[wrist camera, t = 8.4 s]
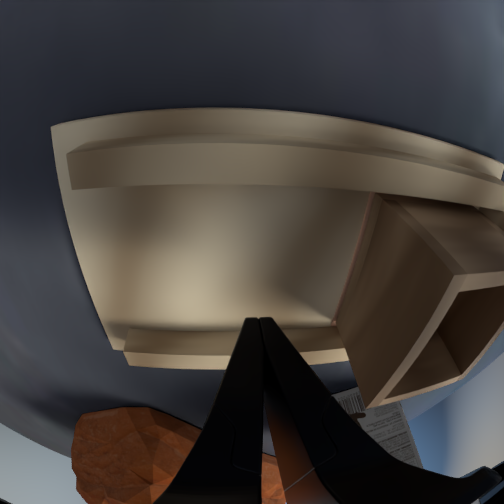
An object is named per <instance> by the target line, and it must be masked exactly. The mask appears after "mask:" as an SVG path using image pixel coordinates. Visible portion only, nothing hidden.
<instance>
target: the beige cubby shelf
mask: <svg viewBox="0 0 504 504" xmlns="http://www.w3.org/2000/svg"><path fill="white" fill-rule="evenodd" d="M51 134H52V142H53V150H54V157H55V163H56V170H57V175H58V181H59V186H60V191H61V196H62V200H63V205H64V209H65V213H66V218H67V221H68V225H69V229H70V233H71V237H72V240H73V244H74V247H75V250H76V254H77V257H78V260H79V263H80V266H81V269H82V272H83V275H84V278H85V281H86V284H87V287H88V289H89V292H90V295H91V297H92V300H93V303H94V305H95V308H96V310H97V313H98V315H99V318H100V320H101V322H102V325H103V327H104V329H105V332H106V334H107V336H108V338H109V341H110V343H111V345H112V347H113V349H114V350H123V353H124V355H125V357H126V359H127V361H128V364H129V365H130V366H142V367H156V368H175V369H226V368H227V365H228V362H229V360H230V357H231V354H232V352H233V349H234V346H235V344H236V341H237V338H238V336H239V333H240V330H241V327H242V325H243V322H244V319H245V318H246V317H257V318H258V319H259V318H260V317H272V318H273V319H274V321H275V322H276V323H277V324H278V326H279V327H280V328H281V330H282V331H283V332H284V334H285V335H286V336H287V338H288V339H289V340H290V341H291V343H292V344H293V345H294V347H295V348H296V349H297V351H298V352H299V353H300V354H301V356H302V357H303V358H304V360H305V361H306V362H307V363H308V365H314V364H323V363H332V362H340V361H347V360H349V359H348V356H347V353H346V350H345V347H344V345H343V342H342V339H341V337H340V334H339V331H338V328H337V326H336V323H335V322H336V320H337V317H338V314H339V311H340V309H341V306H342V303H343V300H344V297H345V294H346V292H347V289H348V286H349V283H350V280H351V276H352V273H353V270H354V267H355V264H356V261H357V257H358V254H359V251H360V247H361V244H362V240H363V237H364V233H365V230H366V226H367V222H368V219H369V215H370V211H371V207H372V203H373V199H374V195H375V192H377V193H386V194H395V195H404V196H412V197H420V198H427V199H434V200H441V201H448V202H454V203H460V204H466V205H472V206H474V207H475V208H476V209H478V210H479V211H480V212H481V213H483V214H484V215H485V216H486V217H488V218H489V219H490V220H491V221H492V222H494V223H495V224H496V225H497V226H498V227H499V228H501V229H502V230H503V231H504V182H503V181H501V177H502V173H503V170H504V164H502V163H500V162H499V161H497V160H494V159H492V158H489V157H487V156H484V155H482V154H479V153H476V152H474V151H471V150H468V149H465V148H462V147H459V146H457V145H453V144H450V143H447V142H444V141H441V140H438V139H434V138H431V137H427V136H424V135H420V134H416V133H413V132H409V131H405V130H401V129H397V128H392V127H388V126H383V125H379V124H374V123H369V122H364V121H358V120H353V119H347V118H341V117H334V116H327V115H320V114H312V113H303V112H294V111H283V110H270V109H253V108H177V109H160V110H147V111H136V112H127V113H118V114H111V115H104V116H97V117H91V118H85V119H79V120H74V121H69V122H64V123H59V124H57V125H54V126H52V127H51Z"/></svg>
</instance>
